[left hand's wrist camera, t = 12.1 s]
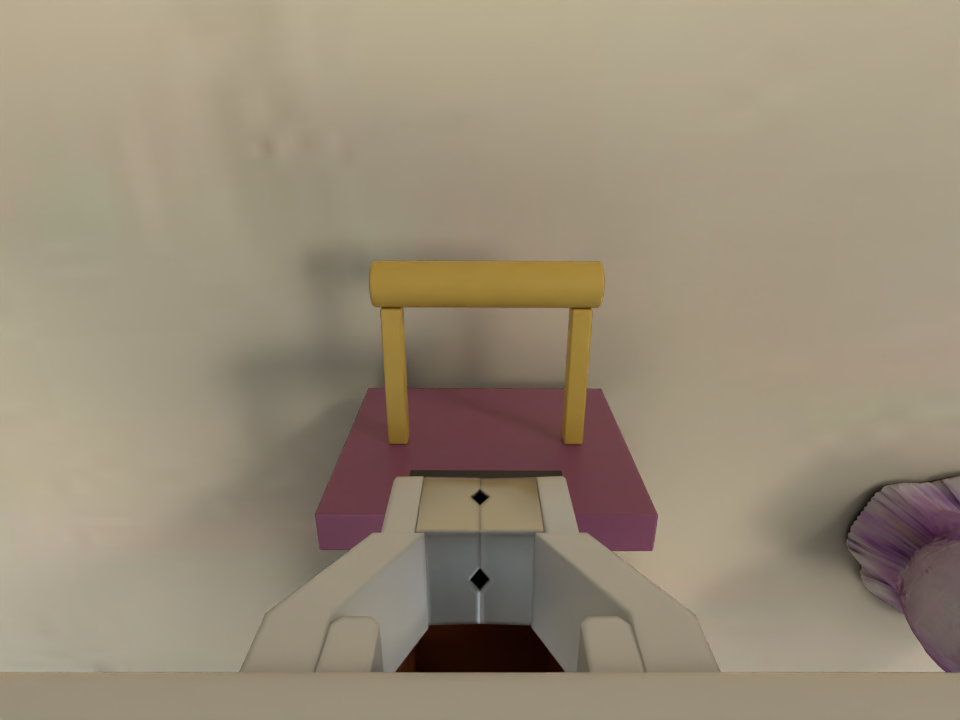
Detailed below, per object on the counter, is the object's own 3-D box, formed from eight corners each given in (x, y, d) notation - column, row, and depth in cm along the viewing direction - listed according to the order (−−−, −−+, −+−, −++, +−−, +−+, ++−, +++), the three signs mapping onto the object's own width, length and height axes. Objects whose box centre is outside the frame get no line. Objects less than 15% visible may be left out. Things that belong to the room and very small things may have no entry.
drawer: (356, 235, 20) (286, 298, 13) (615, 236, 20) (689, 299, 13) (390, 680, 28) (359, 872, 21) (575, 680, 28) (608, 873, 21)
